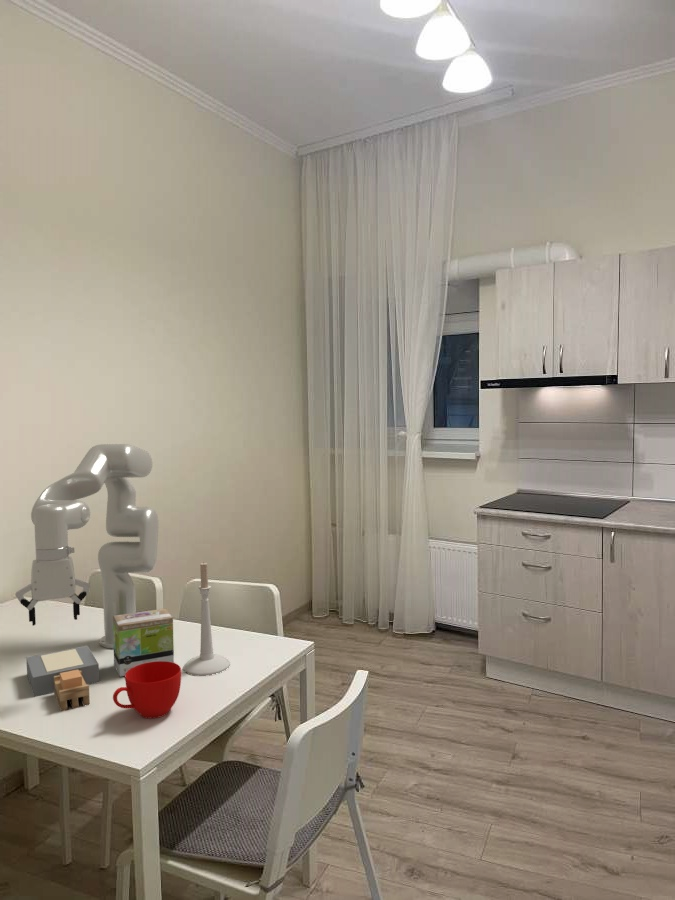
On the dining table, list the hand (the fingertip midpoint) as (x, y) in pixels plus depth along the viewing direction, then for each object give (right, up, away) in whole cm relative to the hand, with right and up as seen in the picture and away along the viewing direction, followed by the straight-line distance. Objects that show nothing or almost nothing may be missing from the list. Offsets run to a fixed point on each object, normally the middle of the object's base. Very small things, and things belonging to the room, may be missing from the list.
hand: (54, 621), depth 165 cm
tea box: (+17, -18, +20) cm, 32 cm away
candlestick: (+35, -18, +19) cm, 44 cm away
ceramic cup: (+26, -20, -9) cm, 34 cm away
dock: (-4, -19, +13) cm, 23 cm away
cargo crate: (+4, -16, 0) cm, 17 cm away
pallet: (+4, -20, 0) cm, 20 cm away
